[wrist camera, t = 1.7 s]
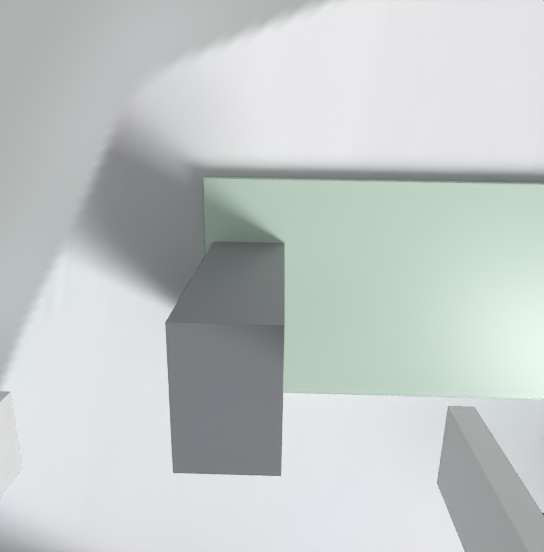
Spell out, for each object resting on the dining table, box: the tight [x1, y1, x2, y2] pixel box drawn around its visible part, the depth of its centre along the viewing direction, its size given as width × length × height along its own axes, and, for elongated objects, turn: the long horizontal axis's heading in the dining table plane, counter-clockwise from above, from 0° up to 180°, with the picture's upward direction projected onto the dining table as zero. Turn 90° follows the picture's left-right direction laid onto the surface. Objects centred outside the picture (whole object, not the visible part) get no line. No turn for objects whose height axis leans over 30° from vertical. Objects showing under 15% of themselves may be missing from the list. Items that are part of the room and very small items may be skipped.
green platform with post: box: [165, 177, 544, 476], centre depth 24 cm, size 13×22×13 cm, turn 89°
